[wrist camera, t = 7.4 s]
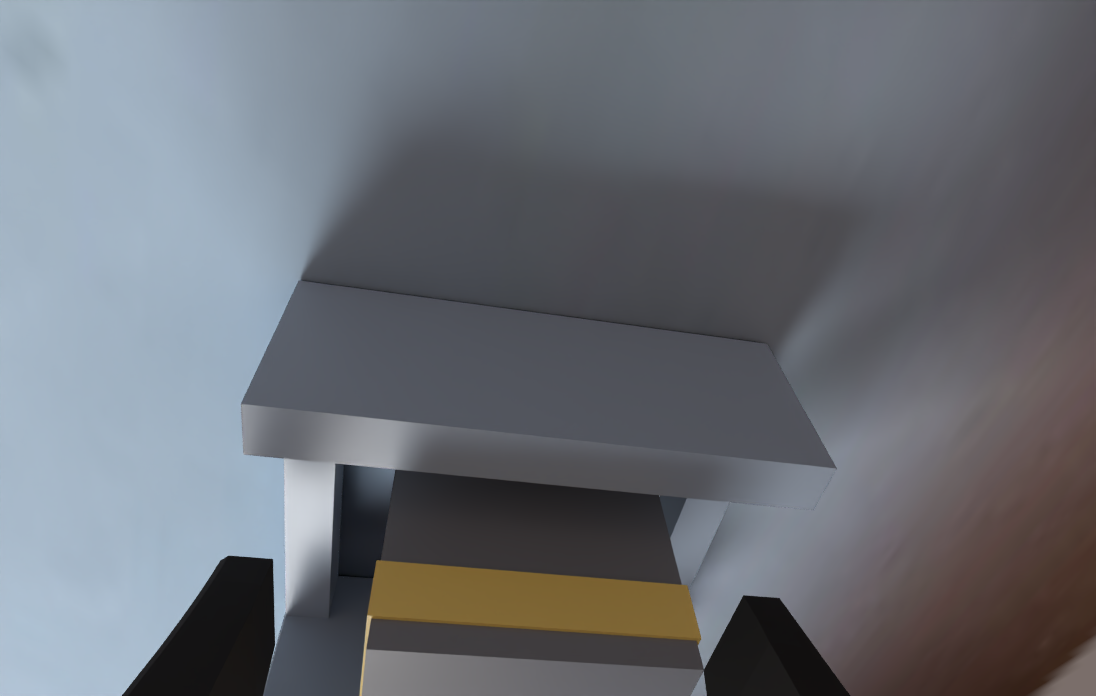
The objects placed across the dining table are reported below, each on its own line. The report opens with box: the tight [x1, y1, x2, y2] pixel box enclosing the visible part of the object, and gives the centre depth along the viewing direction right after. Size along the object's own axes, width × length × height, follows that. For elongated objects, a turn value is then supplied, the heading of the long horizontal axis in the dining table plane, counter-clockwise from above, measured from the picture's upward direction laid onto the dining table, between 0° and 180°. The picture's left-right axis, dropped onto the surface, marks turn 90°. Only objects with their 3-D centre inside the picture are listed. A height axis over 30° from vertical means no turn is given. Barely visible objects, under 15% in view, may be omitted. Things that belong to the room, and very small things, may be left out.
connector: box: [359, 469, 704, 696], centre depth 12 cm, size 4×4×5 cm
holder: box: [241, 281, 837, 696], centre depth 12 cm, size 8×8×3 cm
